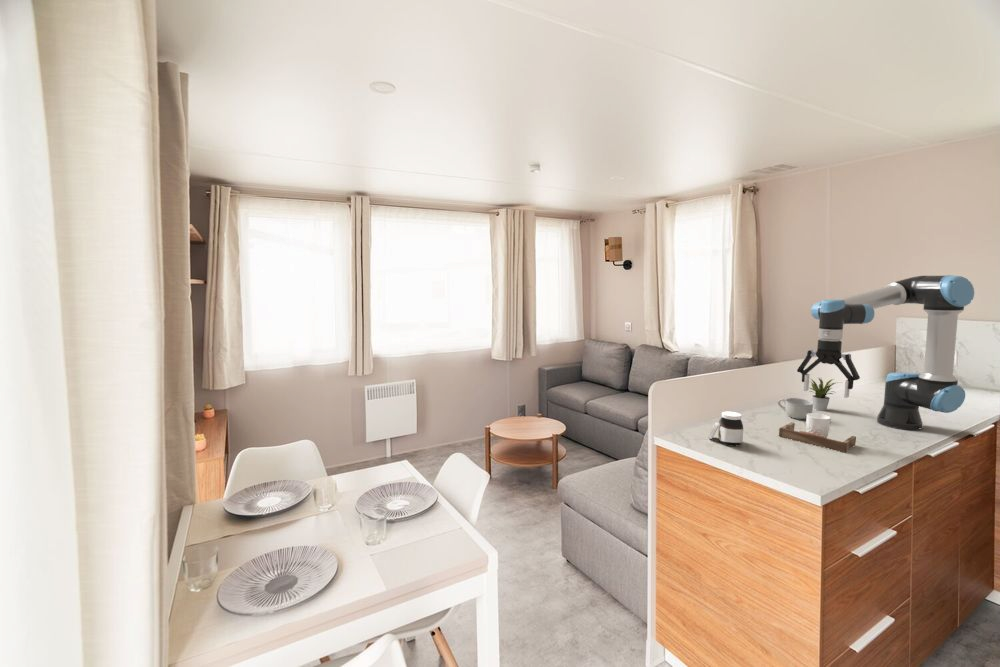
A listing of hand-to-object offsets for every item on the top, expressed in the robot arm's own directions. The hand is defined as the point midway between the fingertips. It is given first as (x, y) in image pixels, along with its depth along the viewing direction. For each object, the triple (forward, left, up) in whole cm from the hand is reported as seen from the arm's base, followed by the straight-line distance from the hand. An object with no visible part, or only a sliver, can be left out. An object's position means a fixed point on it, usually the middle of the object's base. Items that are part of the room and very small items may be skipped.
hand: (825, 393), depth 183 cm
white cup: (+1, -1, -19) cm, 19 cm away
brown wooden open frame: (+1, -1, -19) cm, 19 cm away
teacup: (-27, -19, -19) cm, 38 cm away
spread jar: (+31, -23, -19) cm, 44 cm away
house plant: (-51, -15, -19) cm, 56 cm away
